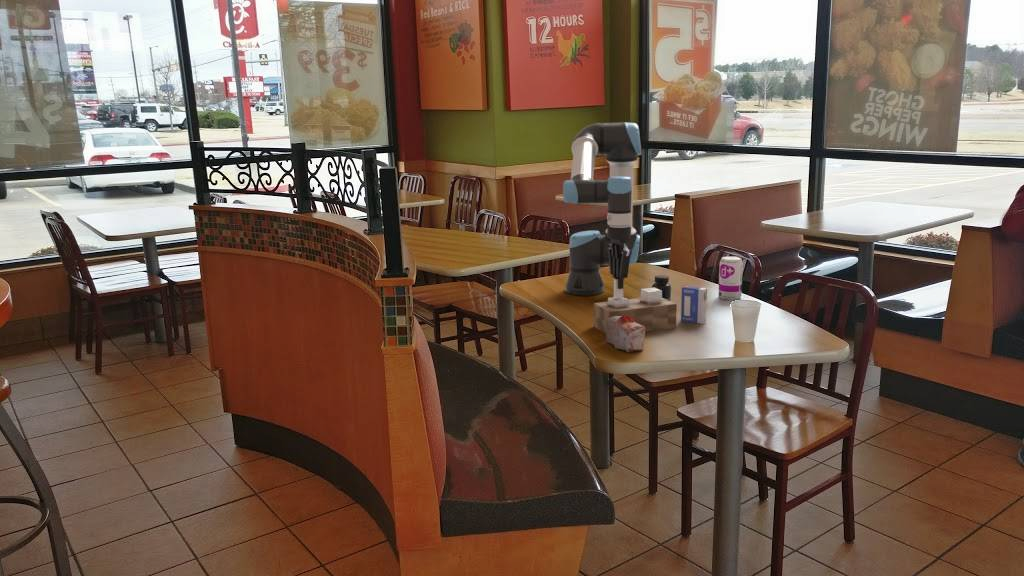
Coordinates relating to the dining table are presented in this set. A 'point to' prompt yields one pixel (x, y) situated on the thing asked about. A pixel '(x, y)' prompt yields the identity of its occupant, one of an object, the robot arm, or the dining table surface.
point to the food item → (625, 333)
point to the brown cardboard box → (638, 314)
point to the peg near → (618, 302)
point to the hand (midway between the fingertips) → (618, 297)
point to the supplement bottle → (663, 286)
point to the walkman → (693, 304)
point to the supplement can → (730, 278)
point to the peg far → (651, 296)
